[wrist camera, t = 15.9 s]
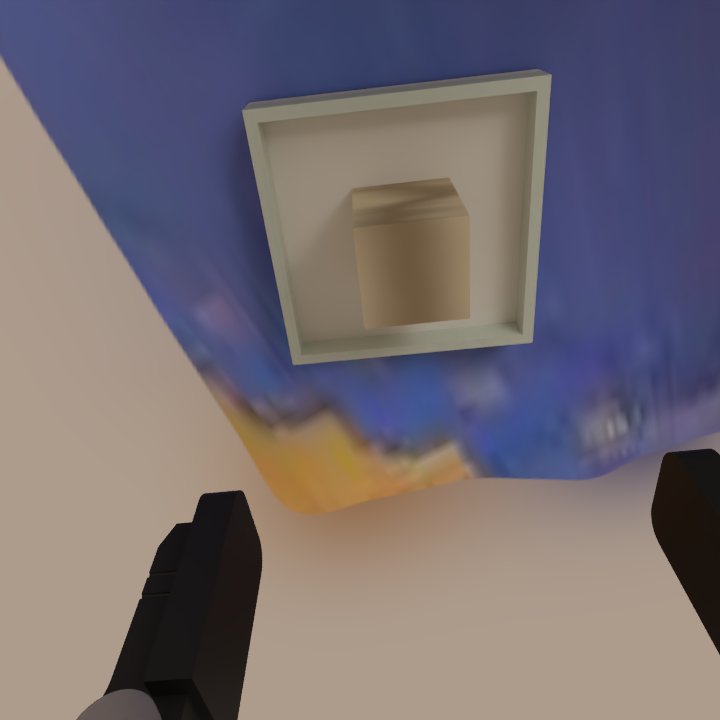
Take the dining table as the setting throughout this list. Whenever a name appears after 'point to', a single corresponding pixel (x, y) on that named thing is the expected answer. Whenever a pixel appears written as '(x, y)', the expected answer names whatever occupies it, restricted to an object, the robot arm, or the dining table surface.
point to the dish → (397, 165)
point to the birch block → (412, 253)
